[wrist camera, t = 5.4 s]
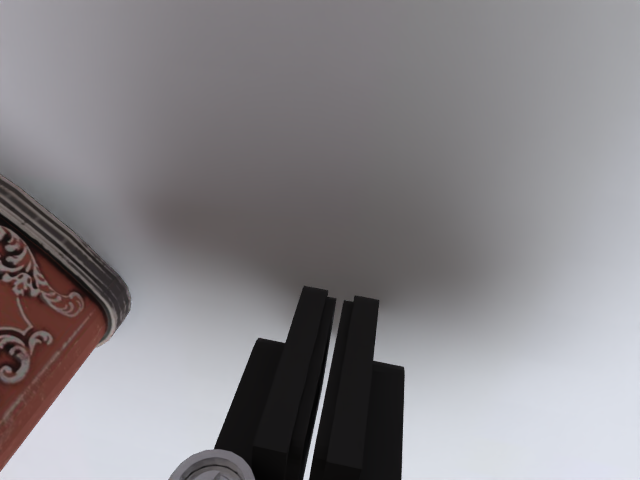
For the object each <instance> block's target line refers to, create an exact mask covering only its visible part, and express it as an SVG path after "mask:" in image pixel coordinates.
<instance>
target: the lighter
mask: <svg viewBox="0 0 640 480" xmlns="http://www.w3.org/2000/svg"><path fill="white" fill-rule="evenodd" d="M130 305H131V297H130V294H129V291H128V288H127V286H126V284H125V283H124V282H123V280H122V279H121V278H120V276H119V275H118V274H117V273H116V272H115V271H114V270H113V269H112V268H111V267H110V266H109V265H108V264H106V263H105V262H104V261H103V260H102V259H101V258H100V257H99V256H98V255H97V254H96V253H95V252H94V251H93V250H92V249H91V248H90V247H89V246H88V245H87V244H86V243H85V242H84V241H83V240H82V239H81V238H79V237H78V236H77V235H76V234H75V233H74V232H73V231H72V230H71V229H69V228H68V227H67V226H66V225H65V224H63V223H62V222H61V221H60V220H58V219H57V218H56V217H55V216H54V215H52V214H51V213H50V212H49V211H47V210H46V209H45V208H44V207H43V206H41V205H40V204H39V203H38V202H36V201H35V200H34V199H33V198H32V197H30V196H29V195H28V194H27V193H25V192H24V191H23V190H22V189H21V188H19V187H18V186H16V185H15V184H13V183H12V182H10V181H9V180H7V179H6V178H5V177H3V176H2V175H0V472H1V470H2V469H3V468H4V466H5V465H6V464H7V462H8V461H9V460H10V458H11V457H12V456H13V455H14V453H15V452H16V451H17V449H18V448H19V447H20V445H21V444H22V443H23V441H24V440H25V439H26V437H27V436H28V435H29V434H30V432H31V431H32V430H33V428H34V427H35V426H36V424H37V423H38V422H39V420H40V419H41V418H42V416H43V415H44V414H45V413H46V411H47V410H48V409H49V407H50V406H51V405H52V403H53V402H54V401H55V399H56V398H57V397H58V395H59V394H60V393H61V392H62V390H63V389H64V388H65V386H66V385H67V384H68V382H69V381H70V380H71V378H72V377H73V376H74V374H75V373H76V372H77V371H78V369H79V368H80V367H81V365H82V364H83V363H84V361H85V360H86V359H87V357H88V356H89V355H90V353H91V352H92V351H93V350H94V348H95V347H99V346H101V345H103V344H104V343H106V342H107V341H109V339H110V338H111V337H112V335H113V334H114V333H115V331H116V330H117V329H118V327H119V326H120V325H121V323H122V322H123V321H124V319H125V318H126V316H127V314H128V313H129V311H130Z"/></svg>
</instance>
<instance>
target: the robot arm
mask: <svg viewBox="0 0 640 480" xmlns="http://www.w3.org/2000/svg"><path fill="white" fill-rule="evenodd" d="M327 296H328V290H324V289H318V288H313V287H308V286H304V287H303V289H302V293H301V296H300V299H299V302H298V305H297V308H296V311H295V315H294V318H293V321H292V324H291V327H290V330H289V333H288V337H287V340H286V343H282V342H277V341H272V340H267V339H262V338H258V339H257V341H256V343H255V345H254V347H253V350H252V352H251V355H250V358H249V360H248V363H247V365H246V368H245V370H244V373H243V375H242V378H241V381H240V383H239V386H238V388H237V391H236V393H235V396H234V399H233V401H232V404H231V406H230V409H229V411H228V414H227V416H226V419H225V422H224V424H223V427H222V429H221V432H220V434H219V437H218V439H217V442H216V445H215V447H214V450H205V451H202V452H199V453H196V454H193V455H192V456H190V457H189V458H187V459H186V460H184V461H183V462H182V463H181V464H180V465H179V466H178V467H177V468H176V470H175V471H174V472H173V473H172V475H171V476H170V478H169V479H168V480H303V477H304V472H305V467H306V463H307V458H308V453H309V448H310V444H311V439H312V434H313V429H314V424H315V420H316V415H317V410H318V405H319V400H320V395H321V390H322V385H323V379H324V373H325V367H326V361H327V354H328V348H329V342H330V336H331V330H332V323H333V317H334V311H335V305H336V298H330V297H327ZM378 308H379V300H376V299H371V298H366V297H360V296H355V297H354V302H351V301H346V300H344V303H343V308H342V313H341V318H340V323H339V328H338V333H337V338H336V343H335V348H334V353H333V358H332V363H331V368H330V373H329V378H328V383H327V388H326V393H325V399H324V404H323V409H322V414H321V419H320V424H319V429H318V434H317V439H316V444H315V449H314V455H313V460H312V466H311V472H310V478H309V480H401V473H402V441H403V410H404V378H405V373H404V367H402V366H397V365H392V364H387V363H382V362H377V361H373V355H374V346H375V336H376V327H377V317H378Z"/></svg>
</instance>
